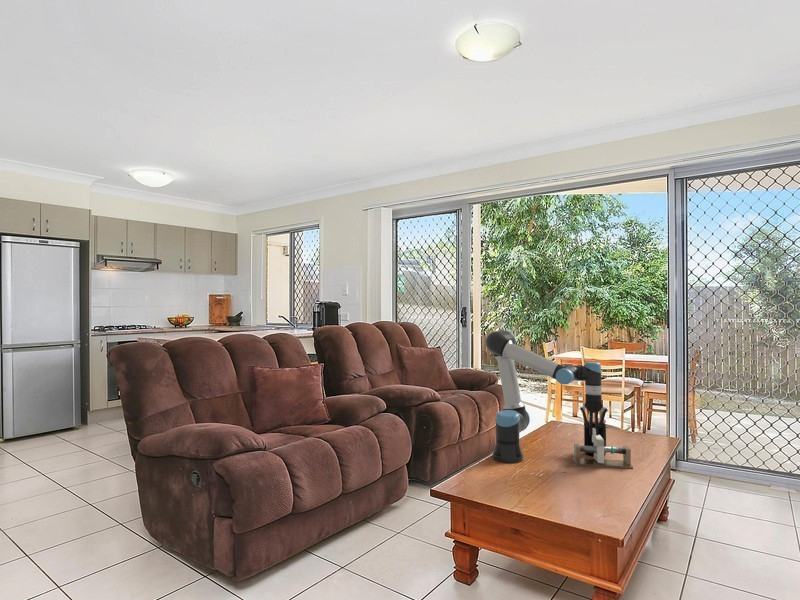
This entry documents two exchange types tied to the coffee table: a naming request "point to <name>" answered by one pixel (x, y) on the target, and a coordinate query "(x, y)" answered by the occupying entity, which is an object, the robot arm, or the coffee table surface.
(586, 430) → the coffee jar
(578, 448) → the rail
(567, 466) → the coffee table surface
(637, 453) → the coffee table surface
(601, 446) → the collar
